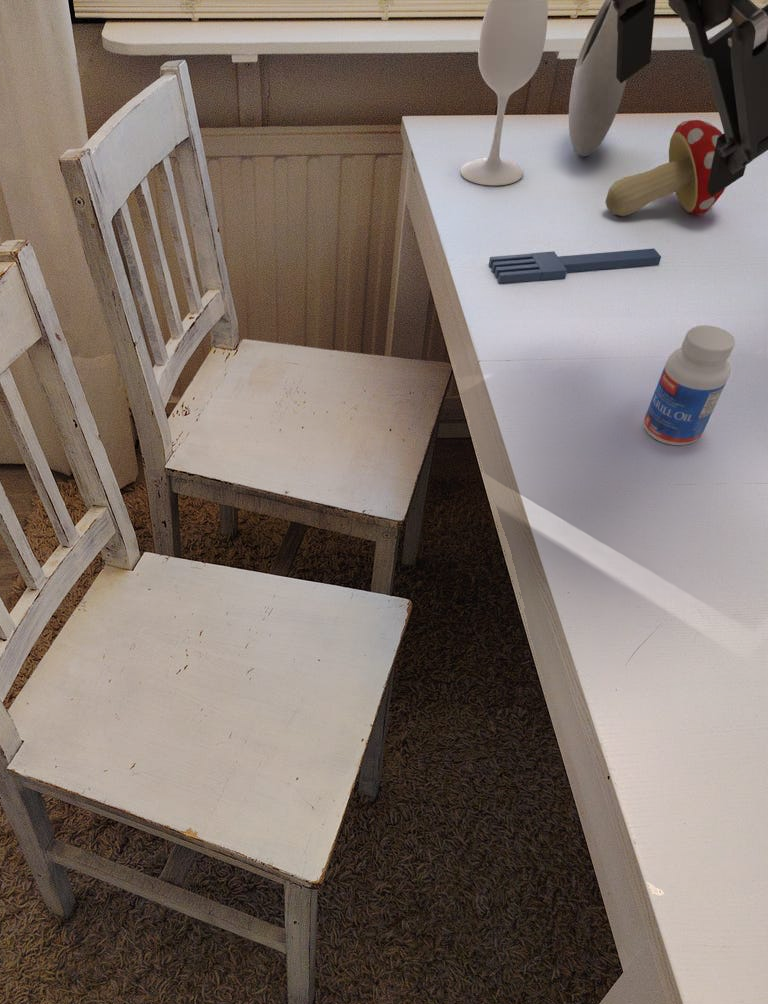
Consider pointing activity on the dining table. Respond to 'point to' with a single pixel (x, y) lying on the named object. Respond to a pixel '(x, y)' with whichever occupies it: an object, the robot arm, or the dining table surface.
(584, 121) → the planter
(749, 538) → the dining table surface
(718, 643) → the dining table surface
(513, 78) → the wineglass
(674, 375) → the pill bottle
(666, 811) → the dining table surface
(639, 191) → the decorative mushroom
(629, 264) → the serving fork
